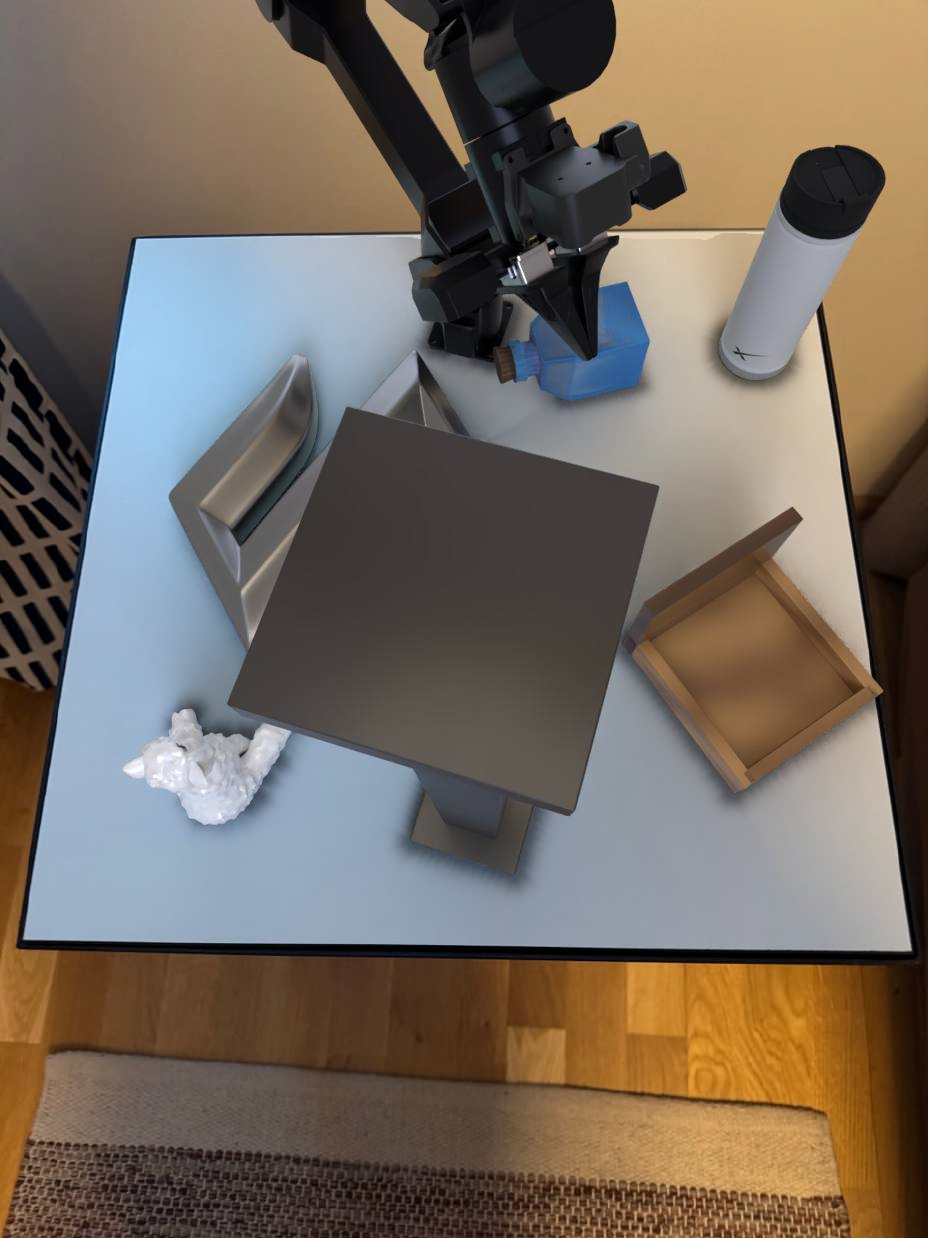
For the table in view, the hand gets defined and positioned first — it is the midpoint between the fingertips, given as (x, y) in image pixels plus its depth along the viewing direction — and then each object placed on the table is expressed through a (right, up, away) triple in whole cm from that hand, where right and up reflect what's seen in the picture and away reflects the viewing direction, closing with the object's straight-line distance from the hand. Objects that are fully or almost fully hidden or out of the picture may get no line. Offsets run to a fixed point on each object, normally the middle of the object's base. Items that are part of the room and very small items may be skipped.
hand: (590, 358), depth 59 cm
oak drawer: (+13, -23, +6) cm, 27 cm away
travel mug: (+17, +5, +16) cm, 24 cm away
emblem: (-19, -10, +12) cm, 25 cm away
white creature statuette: (-27, -30, +5) cm, 41 cm away
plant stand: (-8, -33, +4) cm, 34 cm away
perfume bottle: (+6, +6, +13) cm, 15 cm away
